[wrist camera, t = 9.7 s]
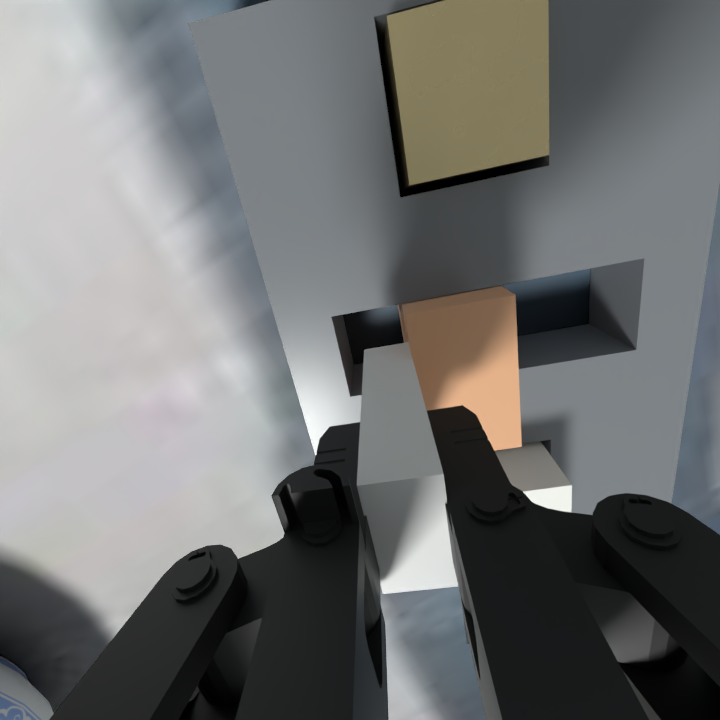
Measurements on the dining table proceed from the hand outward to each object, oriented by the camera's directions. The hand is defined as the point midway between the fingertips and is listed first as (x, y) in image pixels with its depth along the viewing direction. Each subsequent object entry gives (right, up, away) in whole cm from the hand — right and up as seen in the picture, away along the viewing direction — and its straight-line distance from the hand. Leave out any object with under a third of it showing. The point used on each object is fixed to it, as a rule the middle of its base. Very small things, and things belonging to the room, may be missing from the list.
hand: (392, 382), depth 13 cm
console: (+4, +3, +5) cm, 7 cm away
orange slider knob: (+2, +3, +5) cm, 6 cm away
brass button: (+2, +10, +2) cm, 11 cm away
